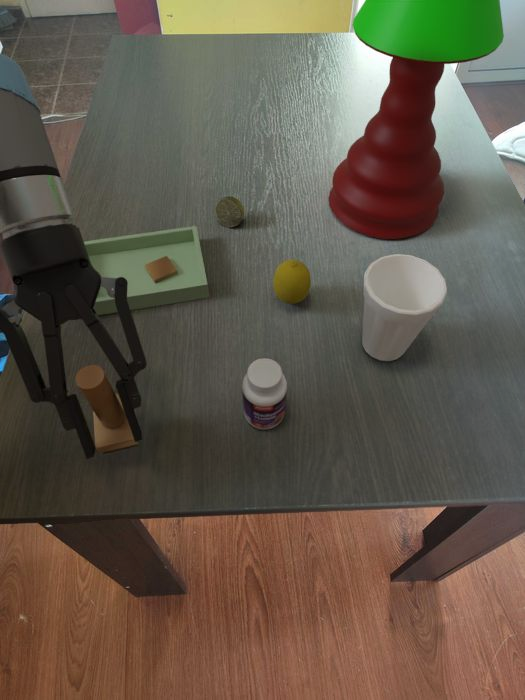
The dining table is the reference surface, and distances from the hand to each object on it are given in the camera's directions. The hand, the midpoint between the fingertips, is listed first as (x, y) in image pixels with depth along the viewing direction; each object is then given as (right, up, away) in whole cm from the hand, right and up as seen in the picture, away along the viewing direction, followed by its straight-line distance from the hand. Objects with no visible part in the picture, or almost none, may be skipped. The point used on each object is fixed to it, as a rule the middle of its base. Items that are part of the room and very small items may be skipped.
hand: (115, 444), depth 50 cm
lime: (+10, +33, +32) cm, 47 cm away
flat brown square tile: (0, +23, +24) cm, 34 cm away
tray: (-3, +22, +25) cm, 33 cm away
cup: (+33, +11, +17) cm, 39 cm away
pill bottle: (+16, +2, +11) cm, 19 cm away
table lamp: (+38, +37, +35) cm, 63 cm away
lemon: (+20, +18, +22) cm, 35 cm away
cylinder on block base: (-1, +1, +5) cm, 5 cm away
